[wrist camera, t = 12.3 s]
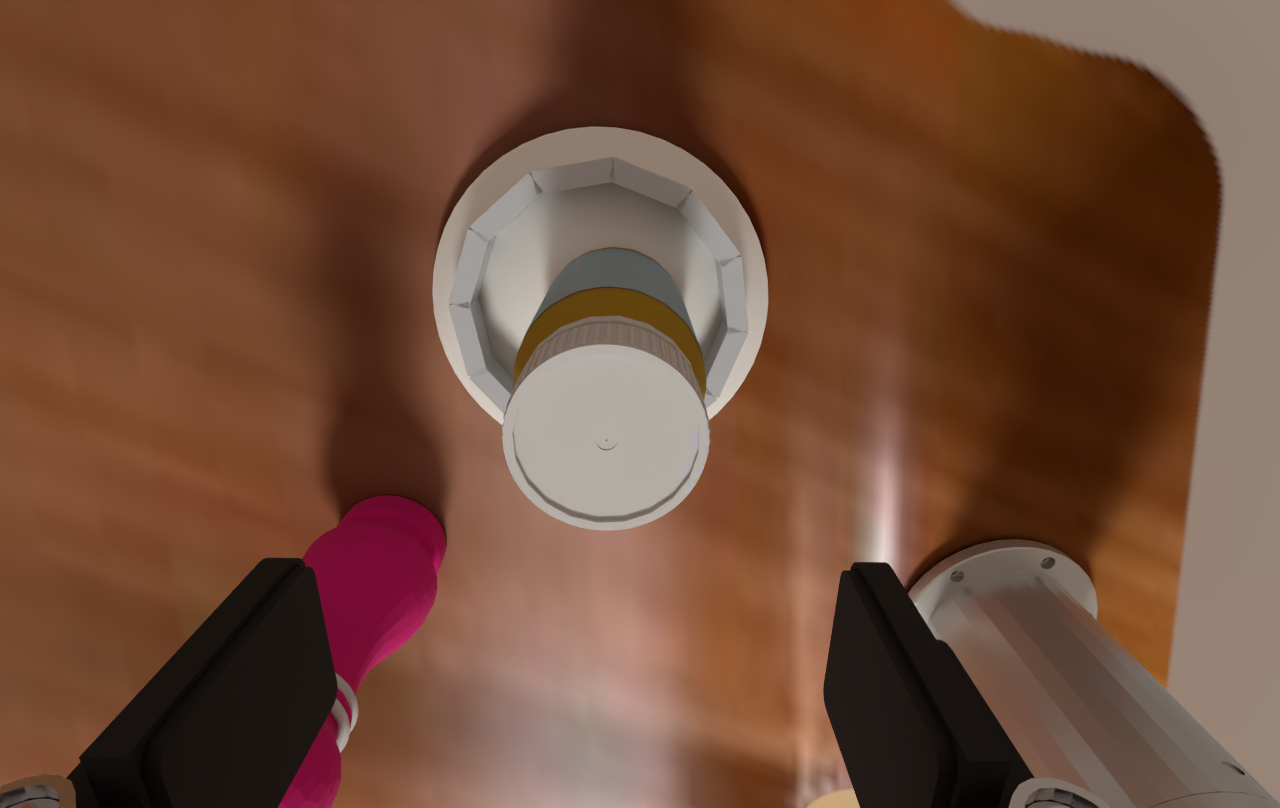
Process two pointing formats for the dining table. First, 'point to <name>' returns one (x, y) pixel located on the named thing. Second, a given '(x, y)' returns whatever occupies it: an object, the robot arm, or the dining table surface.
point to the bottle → (608, 396)
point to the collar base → (589, 220)
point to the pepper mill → (365, 615)
